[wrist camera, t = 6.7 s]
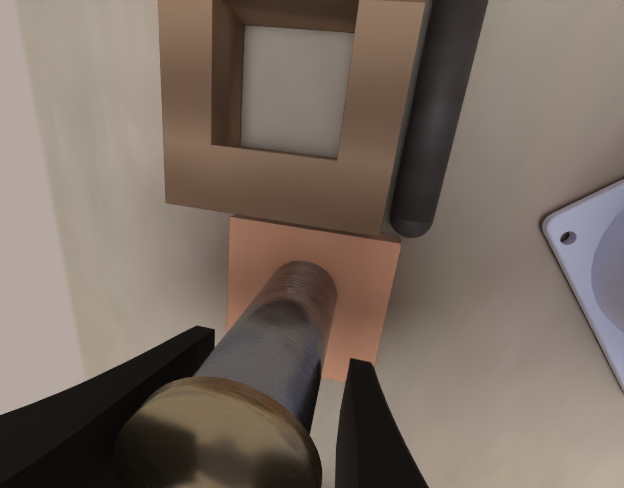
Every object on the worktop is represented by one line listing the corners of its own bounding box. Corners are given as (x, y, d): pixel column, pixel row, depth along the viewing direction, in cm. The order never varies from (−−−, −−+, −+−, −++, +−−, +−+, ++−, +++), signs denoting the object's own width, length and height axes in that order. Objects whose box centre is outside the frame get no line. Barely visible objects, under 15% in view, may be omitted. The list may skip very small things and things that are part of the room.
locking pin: (363, 310, 12) (360, 544, 5) (291, 345, 14) (198, 581, 6) (314, 234, 12) (226, 368, 4) (243, 277, 13) (75, 443, 5)
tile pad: (241, 211, 13) (230, 217, 12) (398, 235, 13) (401, 243, 11) (235, 341, 16) (226, 355, 15) (369, 369, 15) (369, 387, 14)
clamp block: (199, -64, 11) (153, -126, 8) (494, -55, 9) (537, -124, 7) (200, 200, 14) (165, 210, 11) (423, 234, 12) (437, 254, 10)
